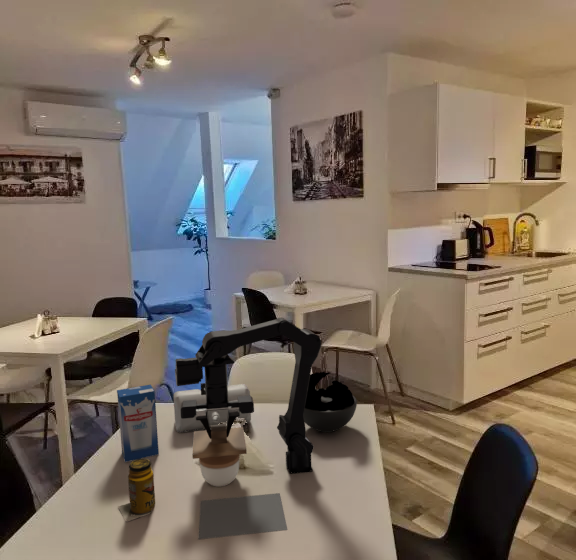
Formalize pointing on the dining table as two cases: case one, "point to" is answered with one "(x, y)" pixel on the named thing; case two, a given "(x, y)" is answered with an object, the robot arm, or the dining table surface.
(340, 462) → the dining table surface
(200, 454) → the lid
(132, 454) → the milk carton
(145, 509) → the condiment
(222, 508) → the mat
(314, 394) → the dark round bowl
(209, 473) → the lidded jar
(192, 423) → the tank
